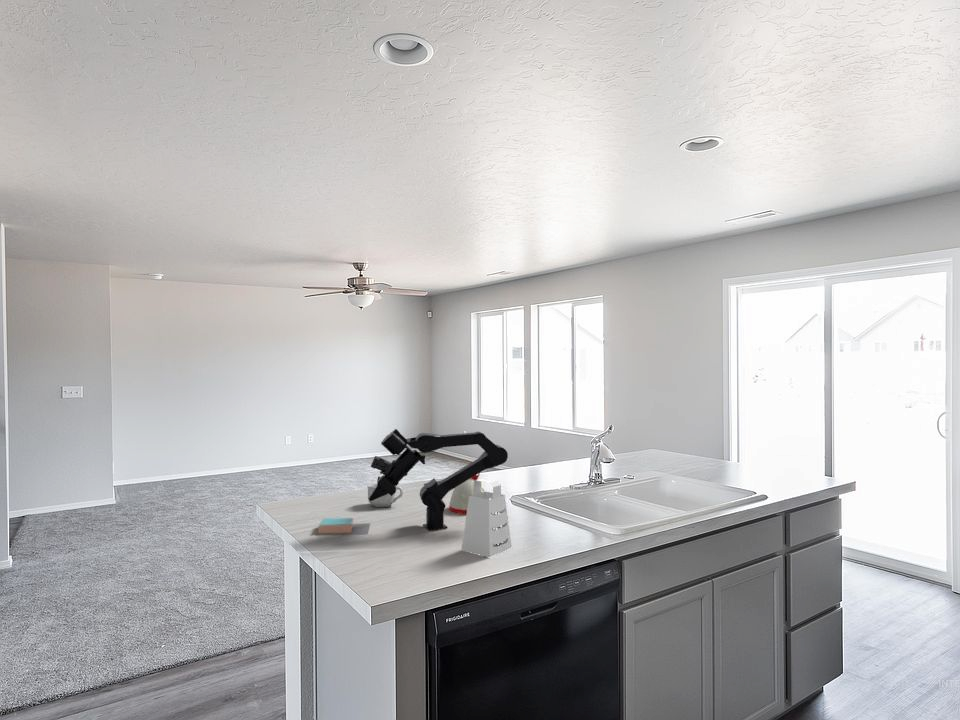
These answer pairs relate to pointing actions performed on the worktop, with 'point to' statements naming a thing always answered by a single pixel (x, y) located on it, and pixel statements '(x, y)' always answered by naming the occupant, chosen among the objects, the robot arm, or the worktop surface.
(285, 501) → the worktop surface
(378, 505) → the teacup
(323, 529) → the pink and teal block
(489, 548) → the grater
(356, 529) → the mat
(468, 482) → the kitchen timer
